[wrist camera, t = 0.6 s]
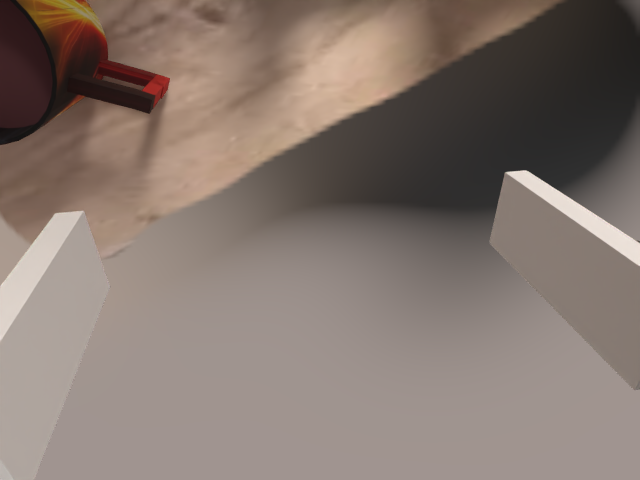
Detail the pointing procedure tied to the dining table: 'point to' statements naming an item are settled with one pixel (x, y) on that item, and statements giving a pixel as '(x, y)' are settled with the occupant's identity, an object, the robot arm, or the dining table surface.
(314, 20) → the dining table surface
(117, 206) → the dining table surface
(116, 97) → the mug
